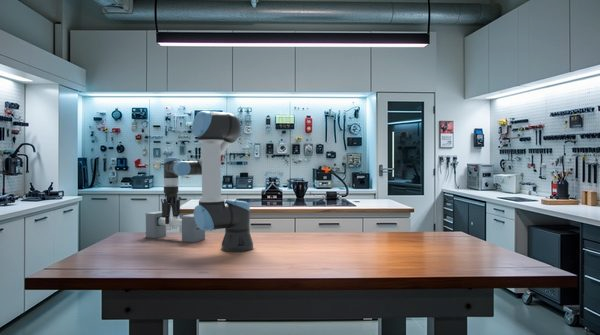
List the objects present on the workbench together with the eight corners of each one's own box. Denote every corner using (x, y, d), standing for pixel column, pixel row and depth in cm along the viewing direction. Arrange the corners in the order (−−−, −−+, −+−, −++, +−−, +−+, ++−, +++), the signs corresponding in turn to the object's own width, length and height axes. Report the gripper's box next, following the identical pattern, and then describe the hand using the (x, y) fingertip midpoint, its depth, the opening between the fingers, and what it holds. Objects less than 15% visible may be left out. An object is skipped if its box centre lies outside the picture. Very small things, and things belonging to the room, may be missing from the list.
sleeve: (205, 239, 223) (205, 214, 222) (194, 242, 214) (194, 216, 214) (192, 237, 226) (192, 213, 225) (181, 240, 218) (181, 215, 217)
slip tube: (200, 227, 221) (200, 219, 221) (195, 229, 217) (195, 220, 217) (163, 224, 231) (163, 216, 230) (157, 225, 227) (157, 217, 226)
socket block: (166, 235, 233) (165, 211, 232) (154, 238, 225) (154, 213, 224) (157, 234, 235) (157, 211, 235) (145, 237, 227) (145, 213, 227)
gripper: (176, 184, 234) (176, 226, 235) (154, 186, 219) (154, 231, 219) (186, 185, 231) (187, 227, 232) (165, 187, 216) (165, 232, 216)
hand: (171, 229), depth 226 cm, fingers closed on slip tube, 4 cm apart
